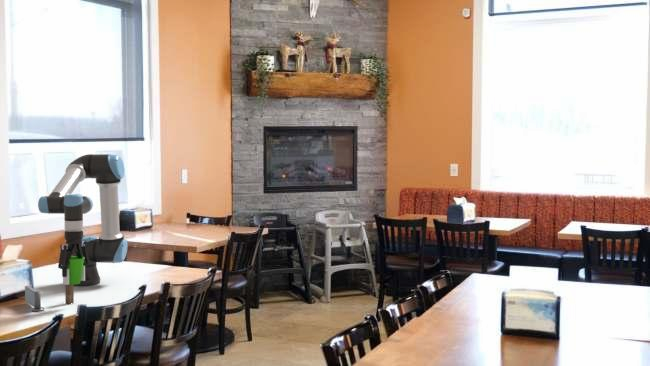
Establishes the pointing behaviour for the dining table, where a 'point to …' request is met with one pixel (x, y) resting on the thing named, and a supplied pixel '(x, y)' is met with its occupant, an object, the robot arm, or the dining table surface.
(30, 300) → the gate
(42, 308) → the hinge base
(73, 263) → the cup
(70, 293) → the post
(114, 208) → the robot arm
